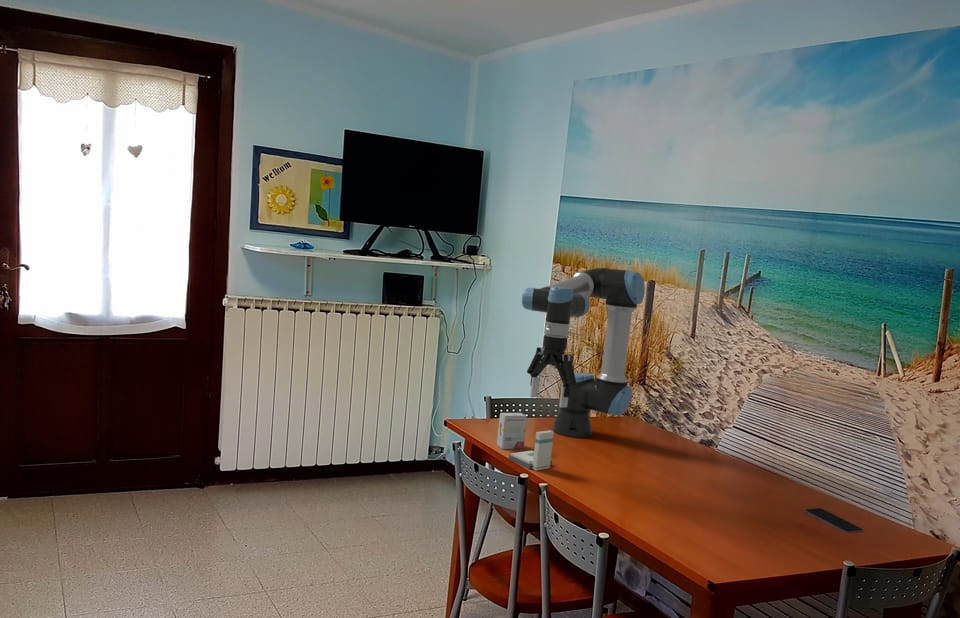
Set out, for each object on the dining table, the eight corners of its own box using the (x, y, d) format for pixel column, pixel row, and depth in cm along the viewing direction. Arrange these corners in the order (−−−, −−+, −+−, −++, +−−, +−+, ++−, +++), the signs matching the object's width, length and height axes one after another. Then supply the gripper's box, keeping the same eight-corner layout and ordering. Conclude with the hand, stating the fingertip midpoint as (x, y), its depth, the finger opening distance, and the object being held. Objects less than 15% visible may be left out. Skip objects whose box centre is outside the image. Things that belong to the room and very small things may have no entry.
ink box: (518, 444, 250) (521, 412, 249) (524, 448, 245) (527, 415, 244) (496, 445, 247) (499, 412, 246) (501, 449, 242) (505, 415, 241)
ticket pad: (531, 456, 238) (531, 449, 237) (551, 465, 230) (552, 458, 230) (508, 459, 231) (509, 453, 231) (529, 469, 224) (529, 462, 223)
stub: (545, 466, 228) (549, 430, 226) (549, 468, 226) (553, 431, 225) (532, 468, 224) (536, 432, 223) (536, 470, 222) (540, 433, 221)
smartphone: (846, 532, 196) (803, 509, 209) (846, 535, 196) (802, 513, 209) (865, 529, 199) (820, 507, 212) (864, 533, 199) (820, 511, 212)
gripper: (521, 329, 229) (513, 393, 231) (575, 342, 210) (567, 412, 211) (538, 329, 234) (530, 392, 236) (593, 342, 214) (584, 410, 216)
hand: (548, 402), depth 224 cm, fingers open, 13 cm apart
